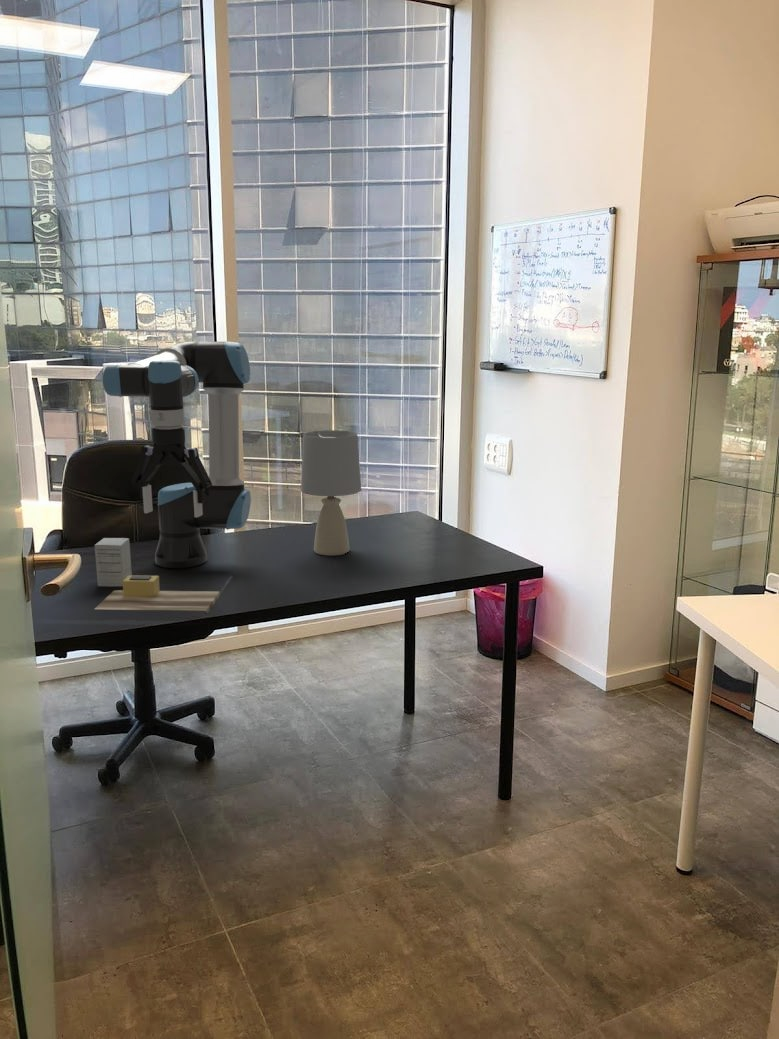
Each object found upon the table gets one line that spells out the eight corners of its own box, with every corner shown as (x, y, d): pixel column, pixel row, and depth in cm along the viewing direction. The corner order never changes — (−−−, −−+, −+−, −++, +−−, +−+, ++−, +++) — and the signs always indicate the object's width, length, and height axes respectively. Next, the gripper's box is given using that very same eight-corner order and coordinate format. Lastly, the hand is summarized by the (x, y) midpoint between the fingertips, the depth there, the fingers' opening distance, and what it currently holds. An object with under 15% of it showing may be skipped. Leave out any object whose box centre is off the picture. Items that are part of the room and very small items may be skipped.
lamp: (372, 553, 268) (372, 435, 259) (320, 562, 258) (319, 440, 249) (341, 540, 283) (340, 428, 274) (291, 548, 273) (288, 432, 264)
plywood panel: (114, 593, 228) (114, 590, 228) (219, 595, 228) (219, 591, 228) (94, 613, 214) (94, 609, 214) (206, 614, 213) (206, 610, 213)
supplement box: (106, 581, 239) (103, 537, 236) (133, 581, 239) (130, 537, 236) (97, 589, 232) (93, 544, 229) (124, 590, 232) (121, 544, 229)
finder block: (129, 589, 229) (128, 573, 228) (159, 590, 229) (158, 574, 227) (123, 595, 224) (122, 579, 223) (154, 596, 224) (153, 580, 223)
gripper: (112, 426, 204) (119, 513, 209) (208, 431, 197) (212, 521, 202) (130, 422, 211) (136, 507, 216) (223, 426, 204) (227, 514, 209)
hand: (173, 514), depth 209 cm, fingers open, 13 cm apart
